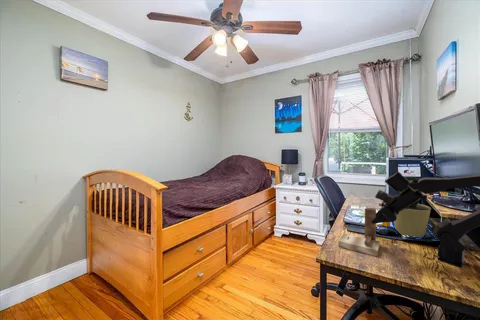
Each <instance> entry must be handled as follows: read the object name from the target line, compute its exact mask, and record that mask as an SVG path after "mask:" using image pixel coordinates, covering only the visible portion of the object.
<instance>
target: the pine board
mask: <svg viewBox="0 0 480 320" xmlns="http://www.w3.org/2000/svg"><path fill="white" fill-rule="evenodd" d="M365 239H366V238H365V237H362V236H357V235H356V236H355V235H352V234H348V233H343V234H341V237H340V238H339V239H338V242H337V245H338V247H340V248H343V249H348V250H351V251H354V252H355V251H356V252H360V253H363V254H368V255H370V256H374V257H378V256H379V253H380V252H379V251H380V247H381V241H380V240H377V239H376V240H371V242H370V245H369V246H368V245H364V242H365Z"/></svg>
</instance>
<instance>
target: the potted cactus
mask: <svg viewBox="0 0 480 320" xmlns="http://www.w3.org/2000/svg"><path fill="white" fill-rule="evenodd" d="M405 178H406V179H407V180H408V181H409V180H418V178H416V177H414V176H405ZM410 187H411V186H410ZM407 188H408V187H406V188H405V189H404V190H406V189H407ZM411 188H412V187H411ZM412 189H413V190H418V191H419V192H420V193H422V194H424V193H423V192H421V191H420V190H419V189H415V188H412ZM404 190H402V191H400V192H399V193H398V194H400V193H401V192H403V191H404ZM419 201H420V200H418V201H416V202H415V203H413V204H412V205H410V206H408V208H407V209H404V210H402V211H400V212H399V214H397V219H396V220H395V221H394V222H393V223H394V228H395V229H396V230H397V231H398V232H399V233H400V234H401V235H408V236H413V237H414V236H415V237H417V236H424V235H425V236H426V232H427V228H428V223H429V218H430V214H431V210H432V208H431V207H430V206H428V205H425V204H422V203H421V204H420V203H419ZM395 229H394V230H395Z"/></svg>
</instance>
